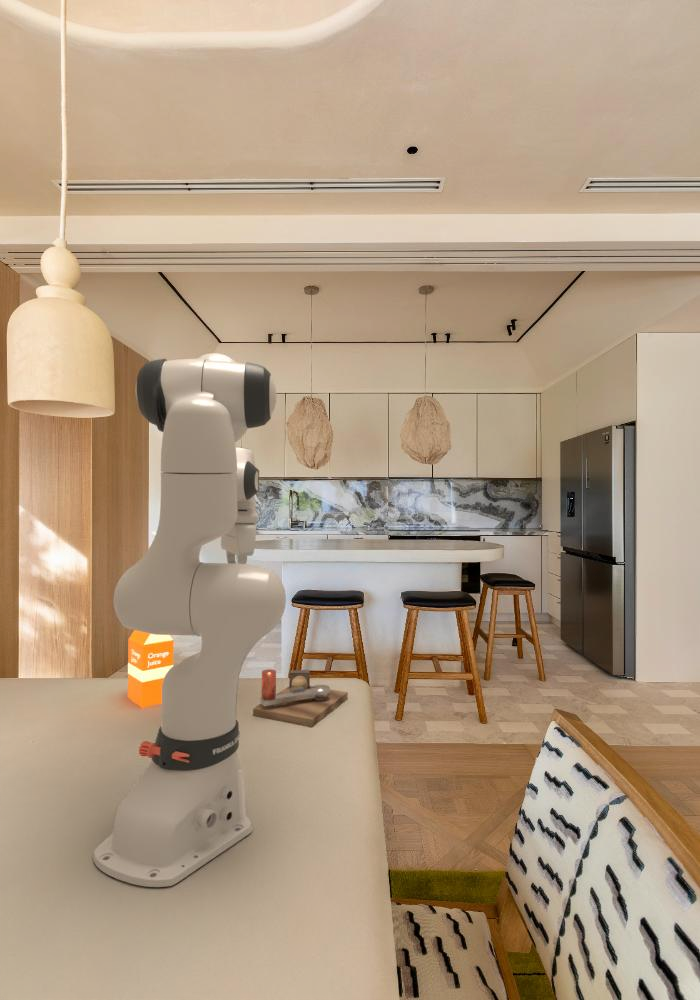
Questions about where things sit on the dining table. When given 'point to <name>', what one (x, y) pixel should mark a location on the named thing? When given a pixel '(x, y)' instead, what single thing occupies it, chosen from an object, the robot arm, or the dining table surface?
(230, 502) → the robot arm
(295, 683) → the wooden ball
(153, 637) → the orange juice
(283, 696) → the lever
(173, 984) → the dining table surface
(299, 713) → the board
